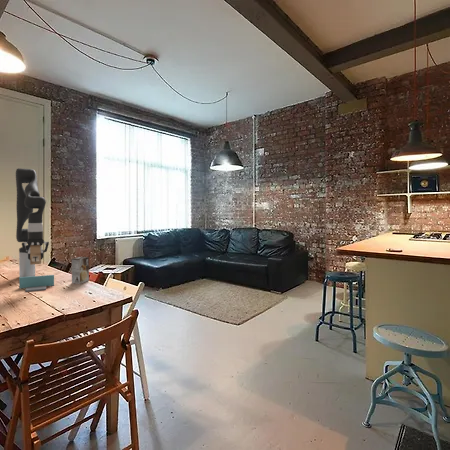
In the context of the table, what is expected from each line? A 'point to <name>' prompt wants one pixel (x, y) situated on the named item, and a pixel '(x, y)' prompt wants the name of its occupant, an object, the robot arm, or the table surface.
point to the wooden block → (35, 254)
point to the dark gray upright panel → (35, 288)
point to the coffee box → (80, 270)
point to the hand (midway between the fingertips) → (35, 259)
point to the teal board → (36, 281)
